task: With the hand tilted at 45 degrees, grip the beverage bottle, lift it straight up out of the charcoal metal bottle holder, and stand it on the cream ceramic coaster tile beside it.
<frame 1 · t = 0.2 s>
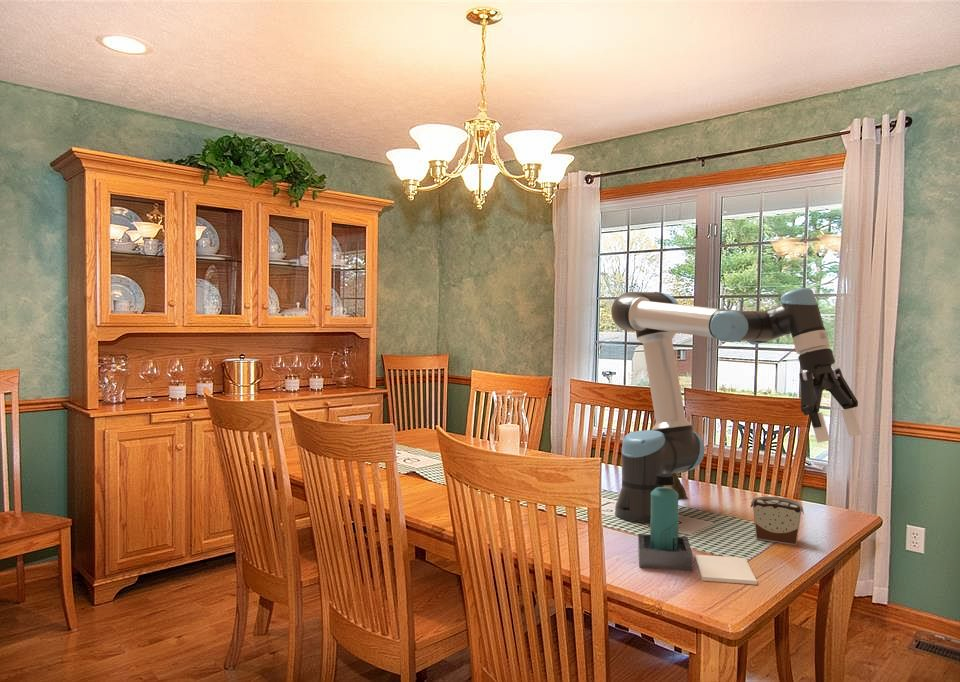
hand: (840, 438, 161), 28 cm above the table, tool tilted 20°, fingers open, 13 cm apart
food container: (777, 539, 174), on the table
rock: (669, 495, 217), on the table
coaster pad: (724, 570, 152), on the table
bottle holder: (664, 560, 159), on the table
beverage bottle: (664, 561, 159), resting in bottle holder
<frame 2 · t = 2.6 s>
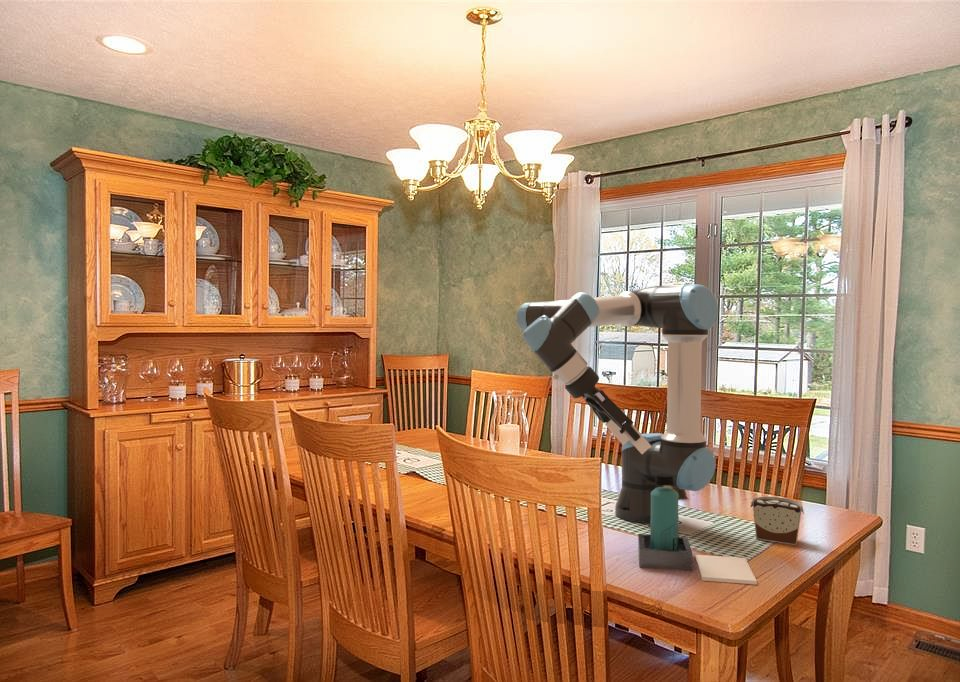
hand: (636, 445, 157), 27 cm above the table, tool tilted 40°, fingers open, 13 cm apart
nothing on the table moved.
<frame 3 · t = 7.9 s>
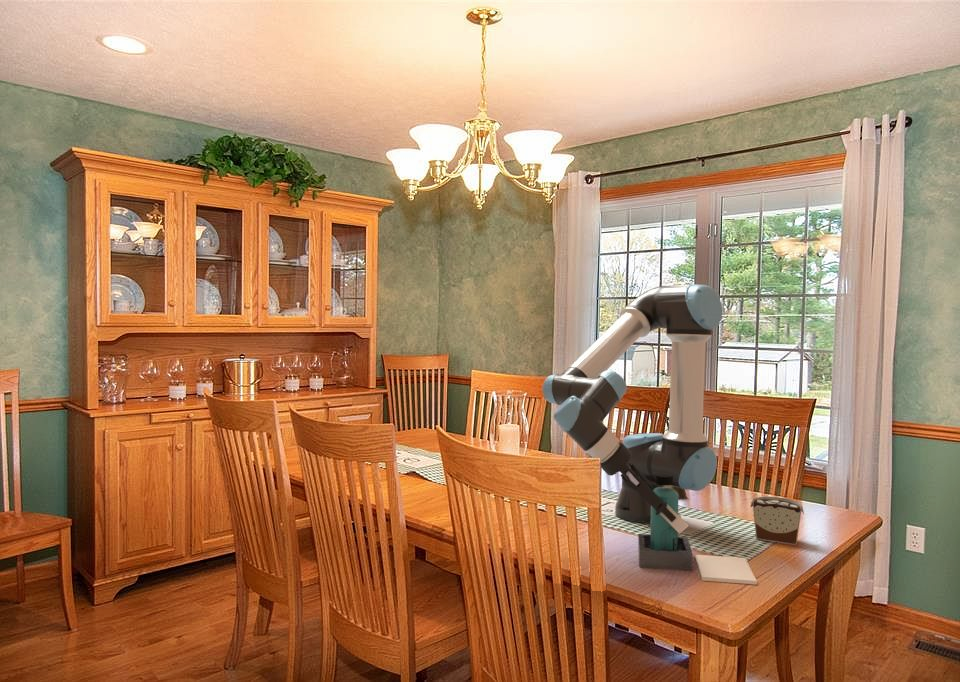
hand: (680, 524, 158), 8 cm above the table, tool tilted 45°, fingers closed on beverage bottle, 6 cm apart
beverage bottle: (664, 561, 159), resting in bottle holder, touching gripper
everything else where it was.
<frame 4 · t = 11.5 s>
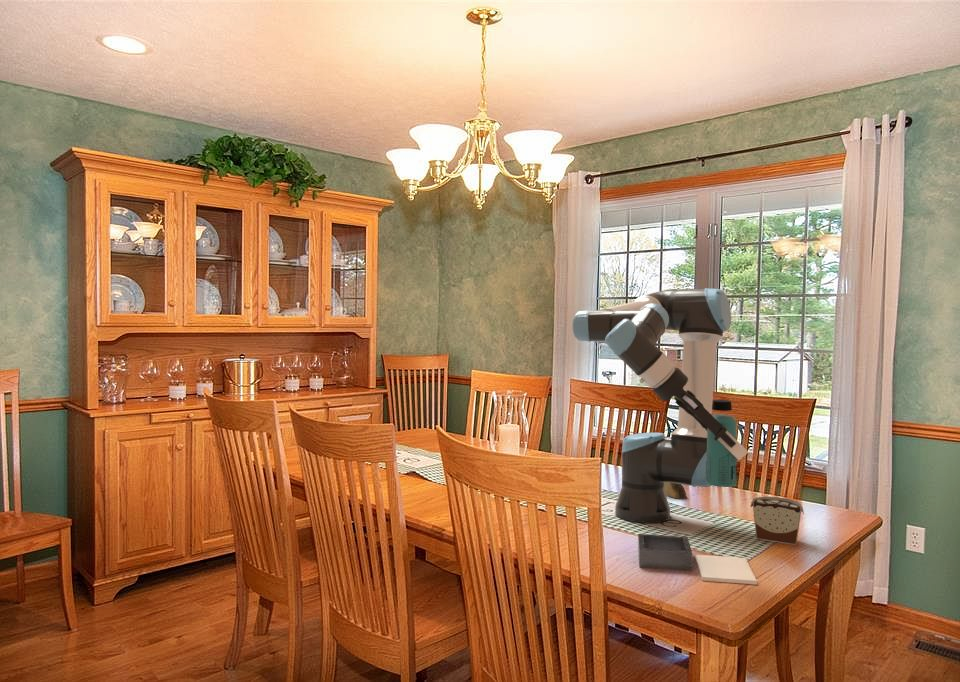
hand: (738, 452, 151), 26 cm above the table, tool tilted 45°, fingers closed on beverage bottle, 6 cm apart
beverage bottle: (720, 491, 152), point 18 cm above the table, touching gripper
everything else where it was.
when the fingers open (11 cm above the table, at t = 15.4 s): beverage bottle drops 1 cm, resting on coaster pad.
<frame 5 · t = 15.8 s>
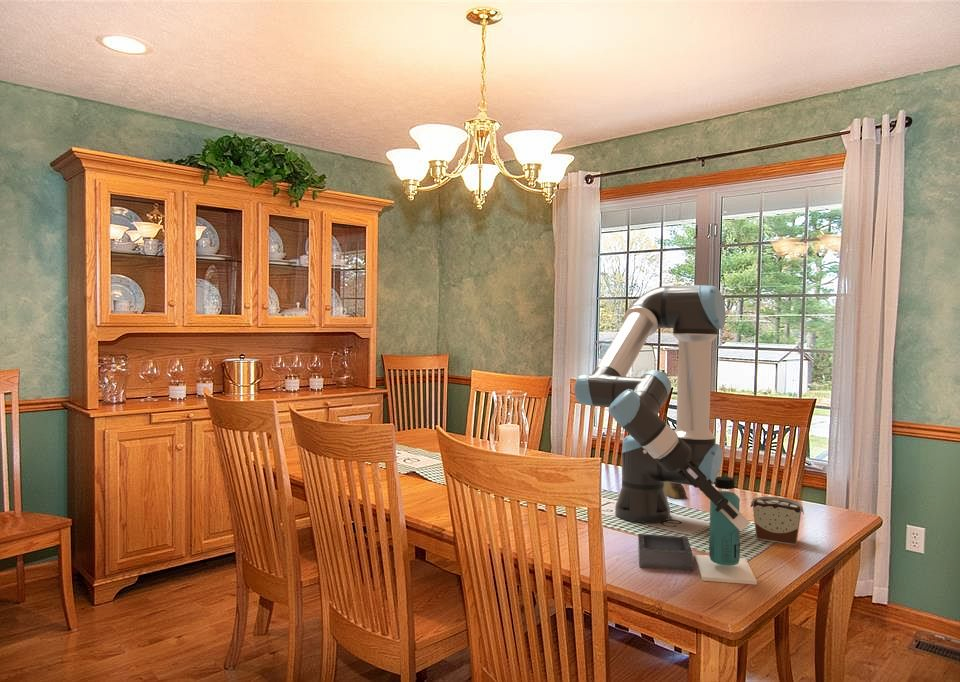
hand: (736, 518, 152), 12 cm above the table, tool tilted 45°, fingers open, 12 cm apart
beverage bottle: (723, 568, 152), point 1 cm above the table, touching coaster pad
everything else where it was.
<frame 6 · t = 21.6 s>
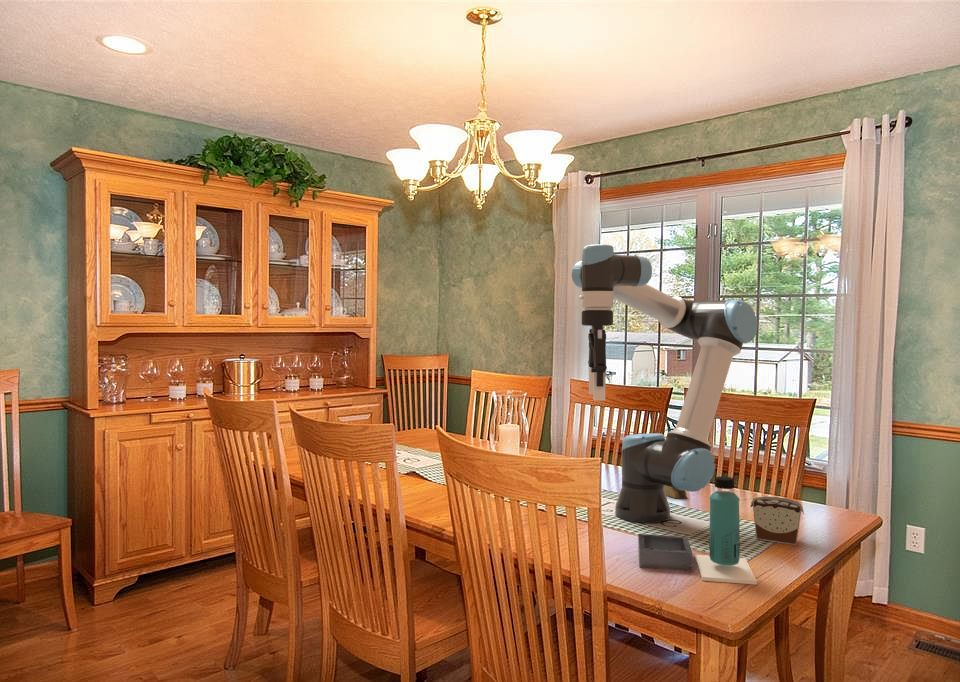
hand: (596, 397, 166), 37 cm above the table, tool pointing down, fingers open, 13 cm apart
nothing on the table moved.
at the end: beverage bottle inside the target area on the coaster pad (0.1 cm from its centre), point 0.6 cm above the coaster pad's base; beverage bottle tilted 0°; the gripper is holding nothing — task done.
